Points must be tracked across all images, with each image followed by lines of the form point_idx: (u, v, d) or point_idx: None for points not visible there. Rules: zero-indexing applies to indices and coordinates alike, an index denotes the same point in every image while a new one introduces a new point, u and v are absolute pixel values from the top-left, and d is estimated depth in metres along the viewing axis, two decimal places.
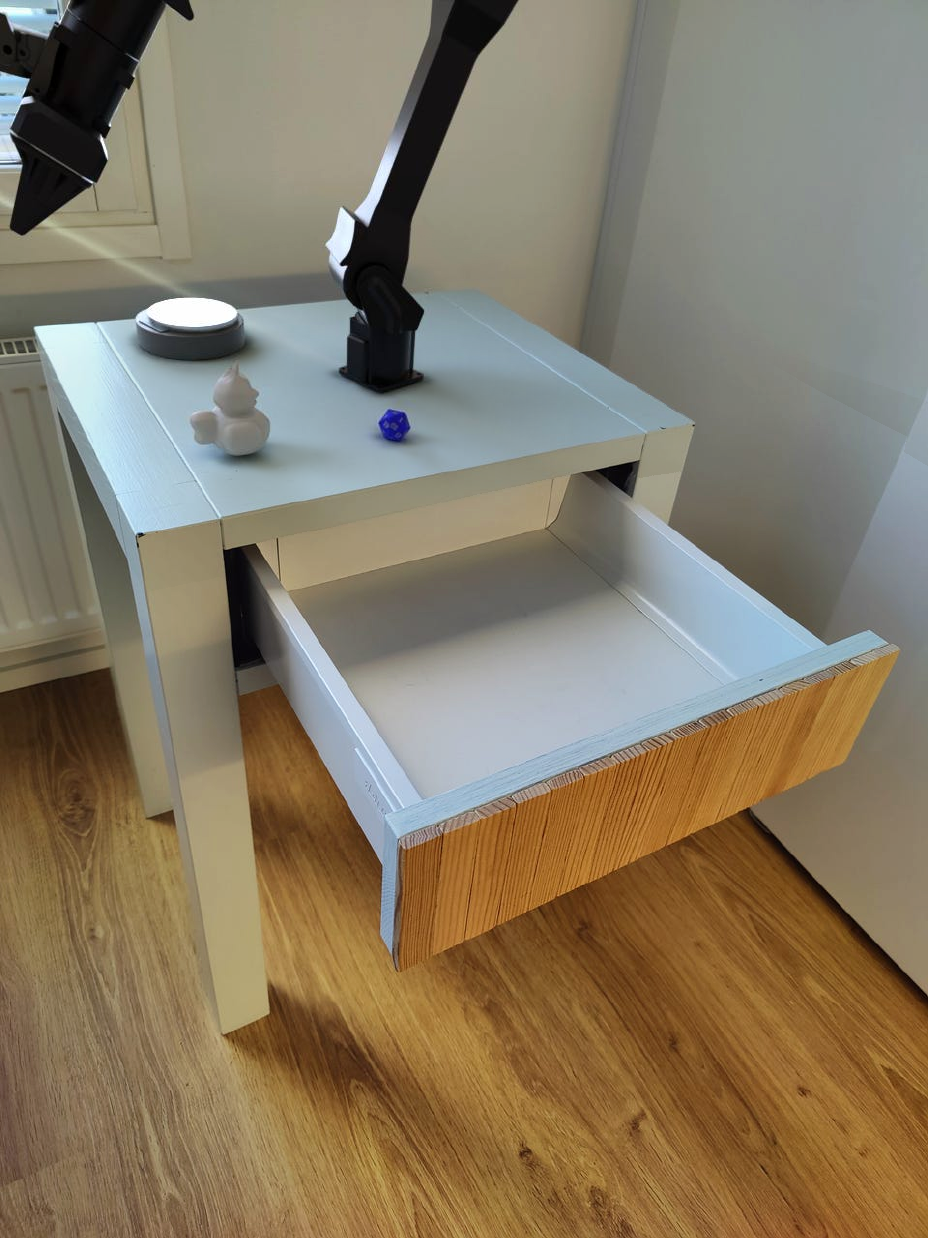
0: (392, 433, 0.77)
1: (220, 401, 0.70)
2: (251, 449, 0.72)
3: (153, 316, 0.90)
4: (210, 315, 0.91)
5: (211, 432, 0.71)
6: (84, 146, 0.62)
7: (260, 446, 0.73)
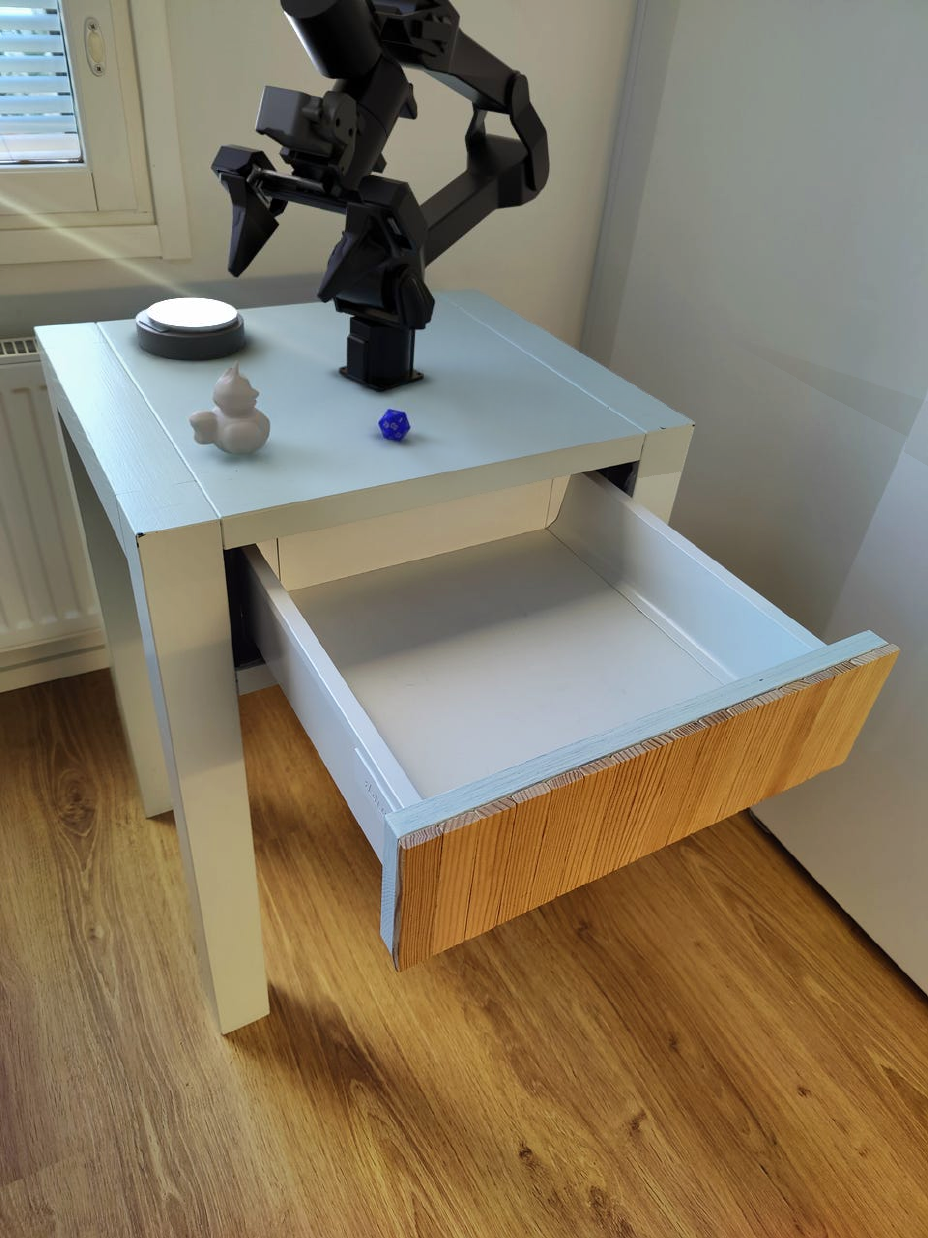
0: (392, 433, 0.77)
1: (220, 401, 0.70)
2: (251, 449, 0.72)
3: (153, 316, 0.90)
4: (210, 315, 0.91)
5: (211, 433, 0.71)
6: (423, 223, 0.70)
7: (260, 446, 0.73)
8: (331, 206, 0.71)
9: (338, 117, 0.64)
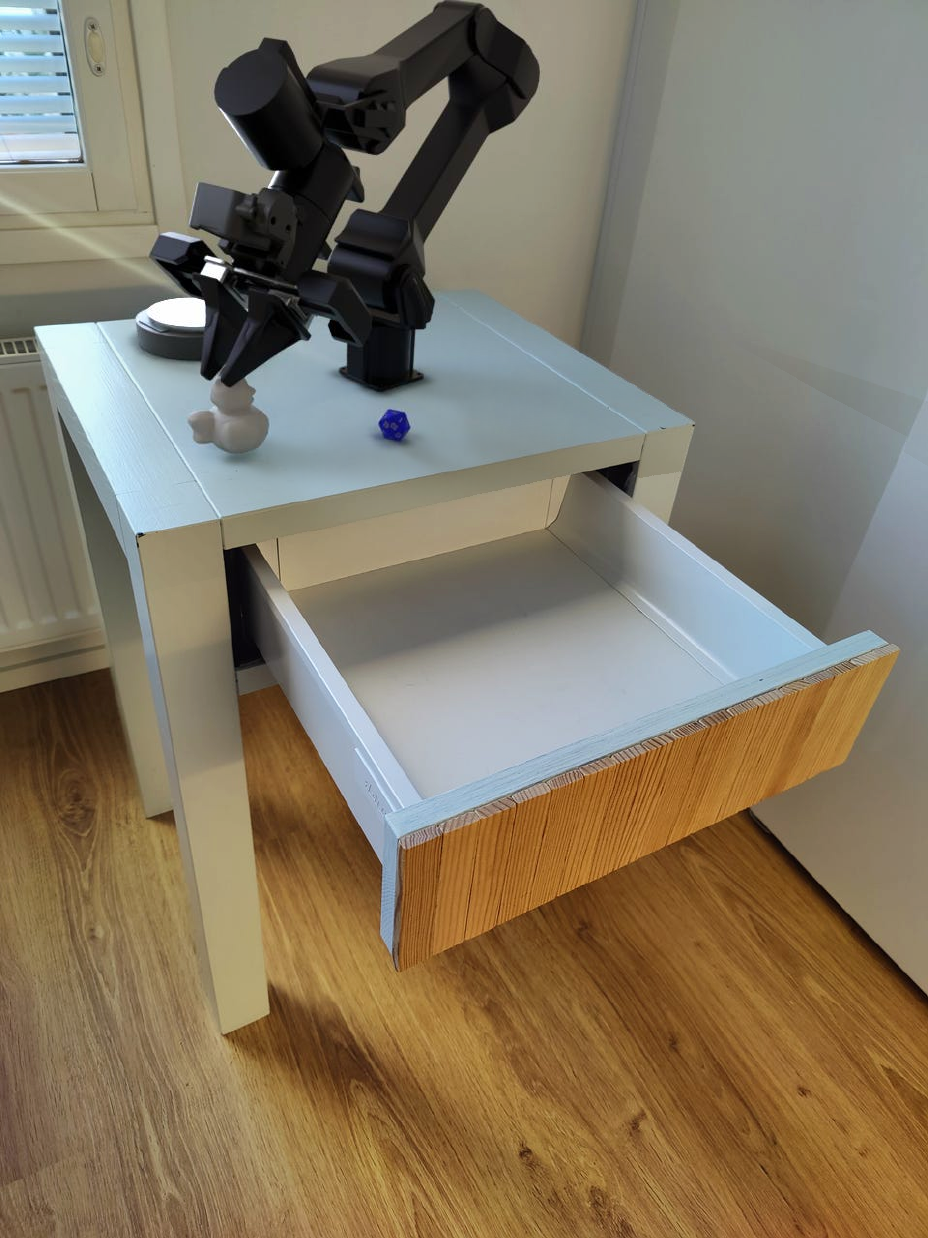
0: (392, 433, 0.77)
1: (217, 399, 0.70)
2: (250, 446, 0.72)
3: (153, 316, 0.90)
4: None
5: (209, 432, 0.71)
6: (367, 317, 0.68)
7: (259, 443, 0.73)
8: None
9: (273, 215, 0.62)
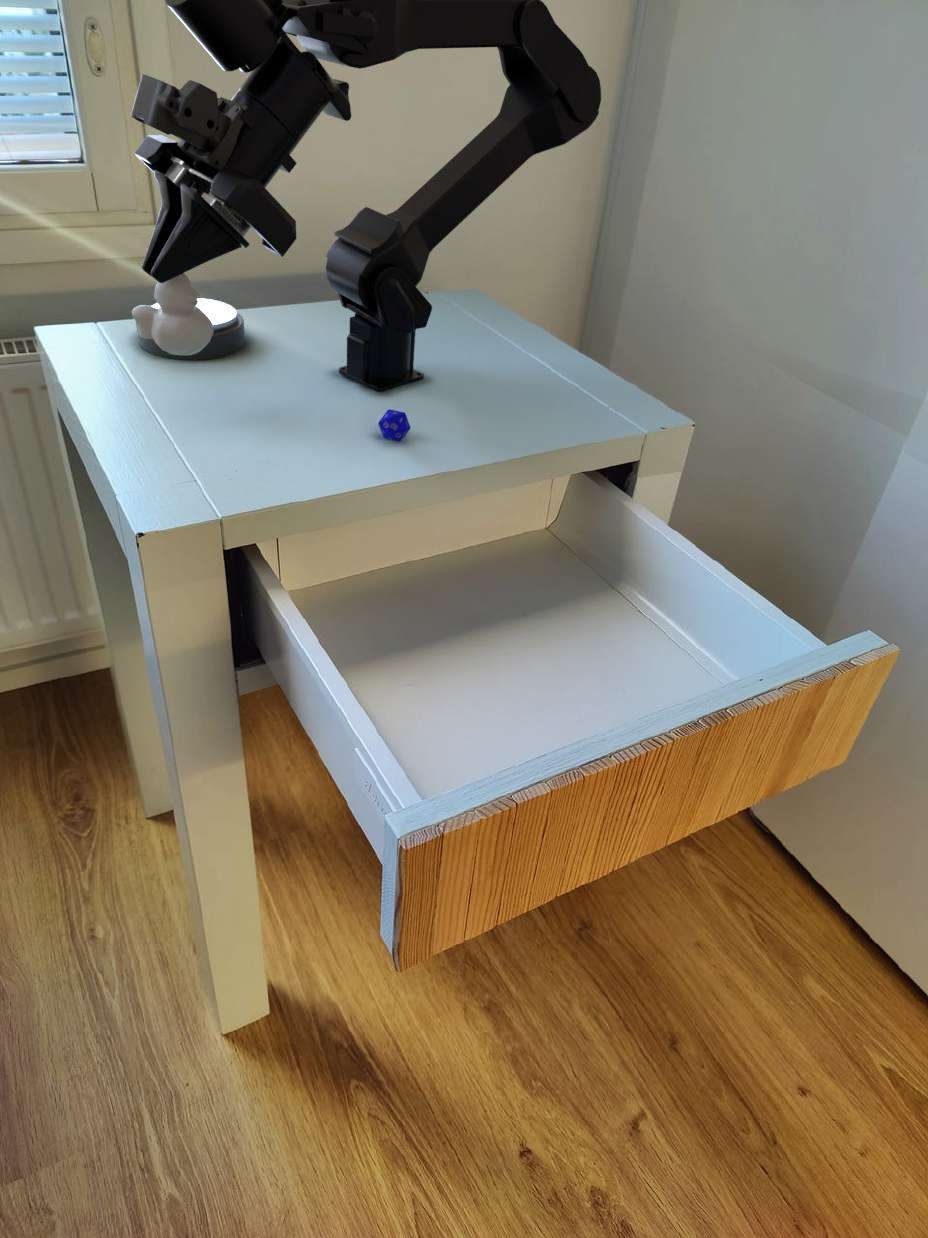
0: (392, 433, 0.77)
1: (156, 297, 0.72)
2: (181, 349, 0.73)
3: None
4: (210, 315, 0.91)
5: (148, 327, 0.74)
6: (284, 224, 0.66)
7: (194, 349, 0.74)
8: None
9: (188, 107, 0.62)
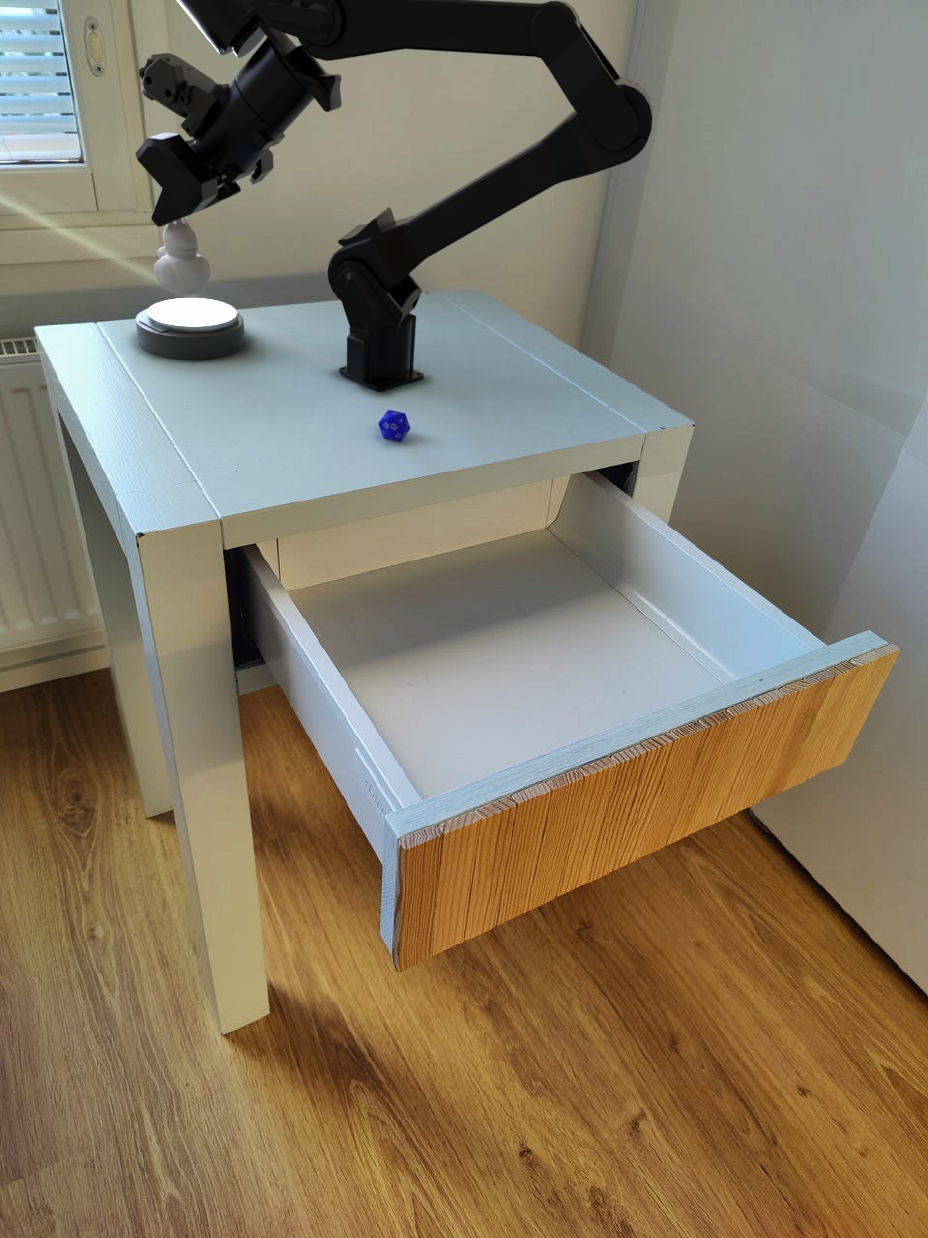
0: (392, 433, 0.77)
1: None
2: (167, 286, 0.86)
3: (153, 316, 0.90)
4: (210, 315, 0.91)
5: None
6: (184, 184, 0.73)
7: (179, 289, 0.86)
8: None
9: (148, 76, 0.74)
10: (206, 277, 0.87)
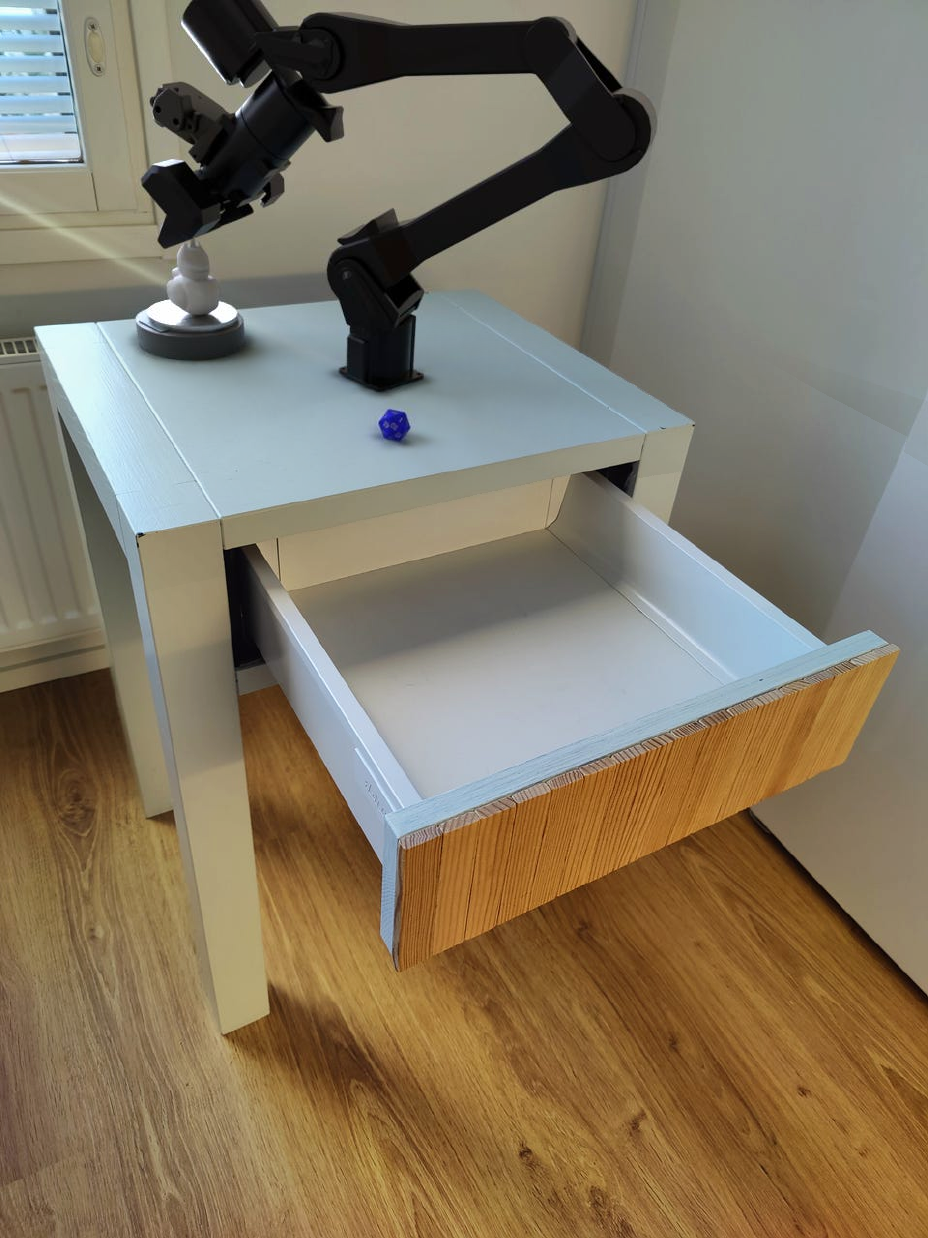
0: (392, 433, 0.77)
1: None
2: (178, 305, 0.89)
3: (153, 316, 0.90)
4: (210, 315, 0.91)
5: None
6: (185, 210, 0.76)
7: (188, 309, 0.89)
8: None
9: (158, 105, 0.76)
10: (216, 298, 0.90)
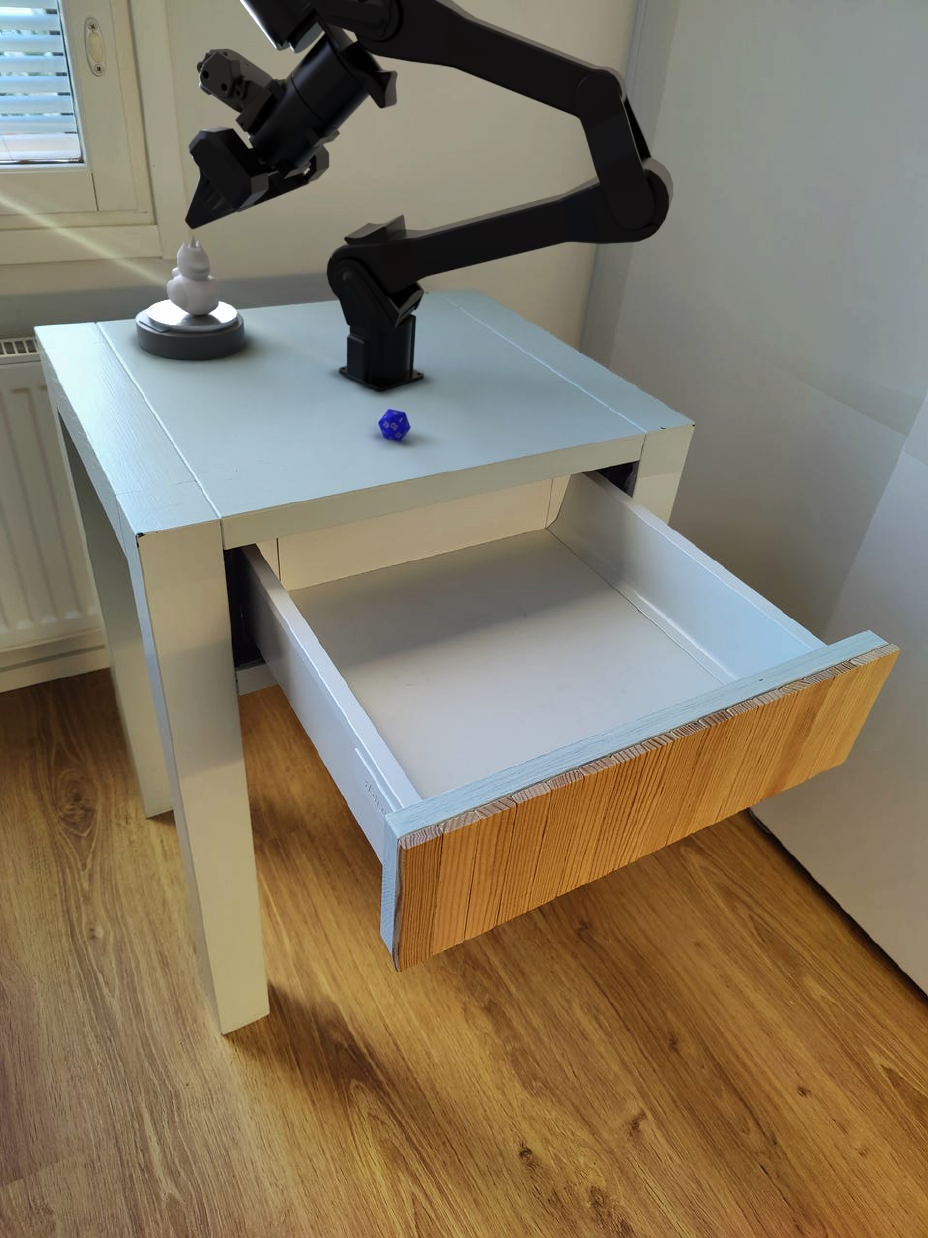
0: (392, 433, 0.77)
1: None
2: (178, 305, 0.89)
3: (153, 316, 0.90)
4: (210, 315, 0.91)
5: None
6: (234, 177, 0.73)
7: (188, 309, 0.89)
8: None
9: (206, 70, 0.74)
10: (216, 298, 0.90)
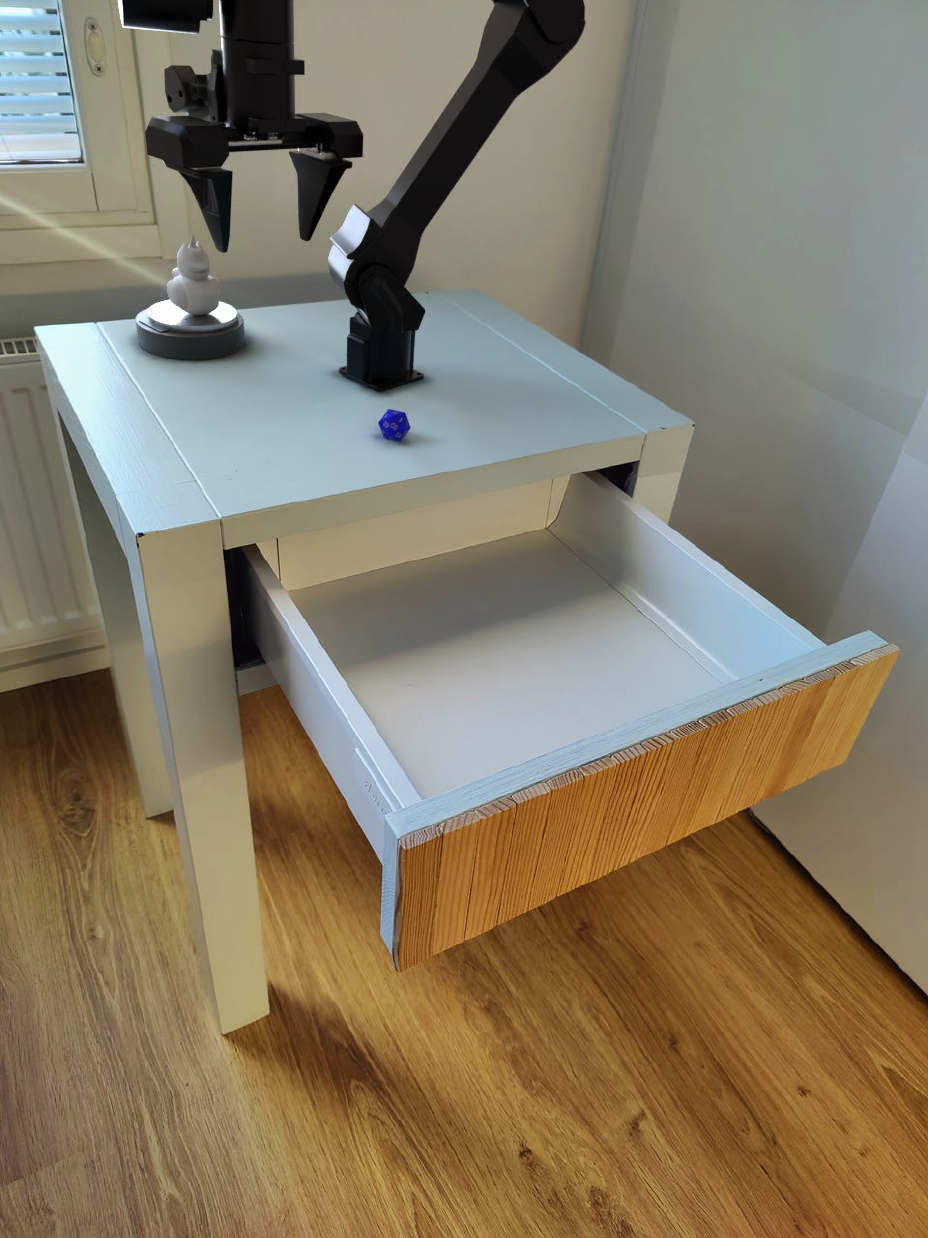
0: (392, 433, 0.77)
1: None
2: (178, 305, 0.89)
3: (153, 316, 0.90)
4: (210, 315, 0.91)
5: None
6: (172, 137, 0.66)
7: (188, 309, 0.89)
8: None
9: (168, 94, 0.73)
10: (216, 298, 0.90)
